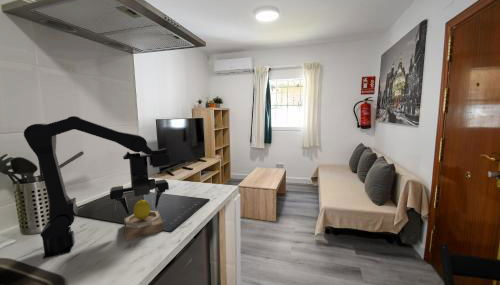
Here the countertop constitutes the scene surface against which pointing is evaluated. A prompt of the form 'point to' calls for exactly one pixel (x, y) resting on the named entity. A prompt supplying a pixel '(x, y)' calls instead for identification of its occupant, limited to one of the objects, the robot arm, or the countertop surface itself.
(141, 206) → the lemon
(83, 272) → the countertop surface
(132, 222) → the wooden bowl
